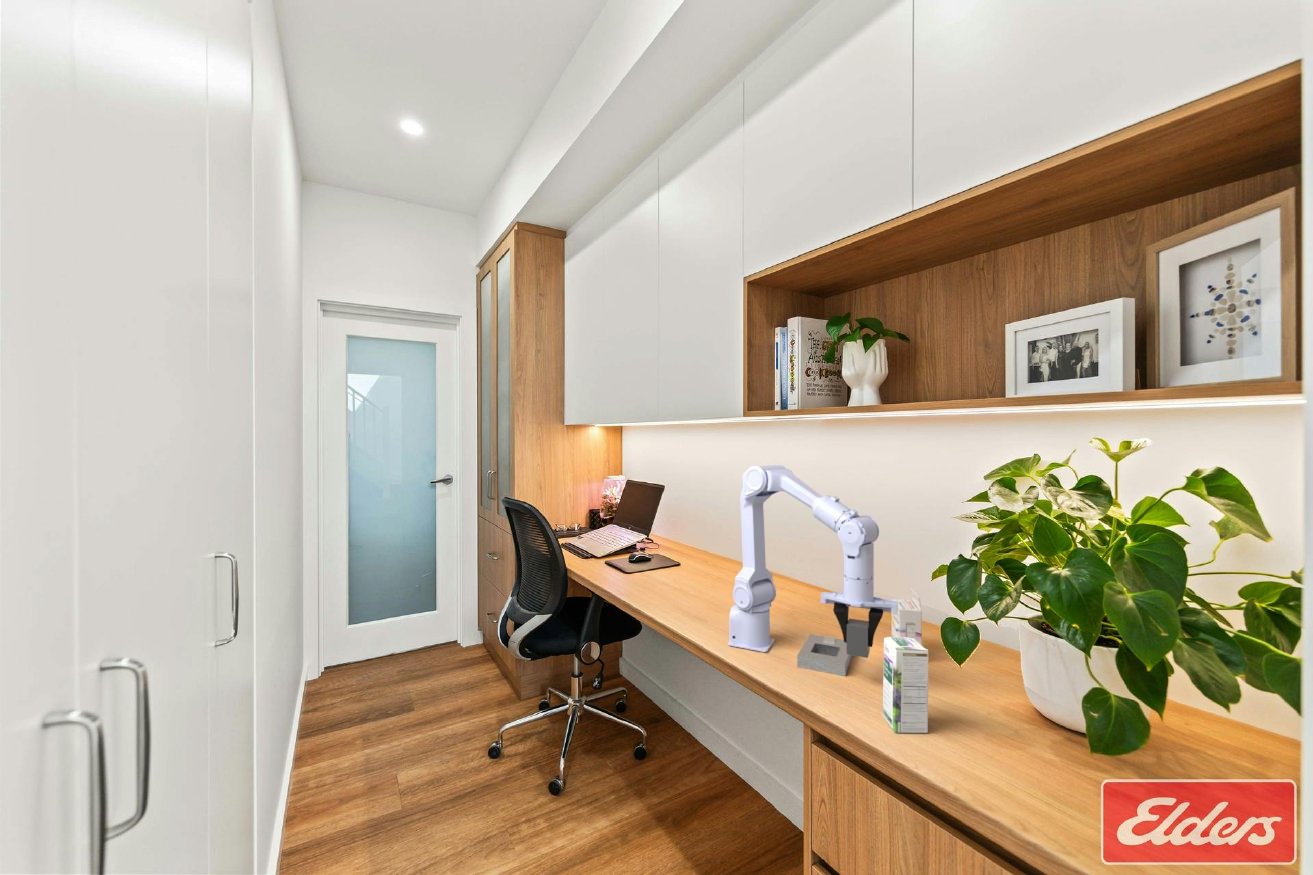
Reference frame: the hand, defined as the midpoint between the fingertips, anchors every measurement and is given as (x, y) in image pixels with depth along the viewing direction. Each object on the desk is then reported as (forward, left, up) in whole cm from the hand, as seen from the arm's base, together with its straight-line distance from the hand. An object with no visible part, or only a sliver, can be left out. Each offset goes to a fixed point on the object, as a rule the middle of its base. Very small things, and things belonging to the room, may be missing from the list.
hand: (858, 642), depth 108 cm
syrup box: (+9, -12, -9) cm, 17 cm away
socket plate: (-8, +10, -9) cm, 15 cm away
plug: (0, 0, -2) cm, 2 cm away
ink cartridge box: (+8, +21, -9) cm, 24 cm away
